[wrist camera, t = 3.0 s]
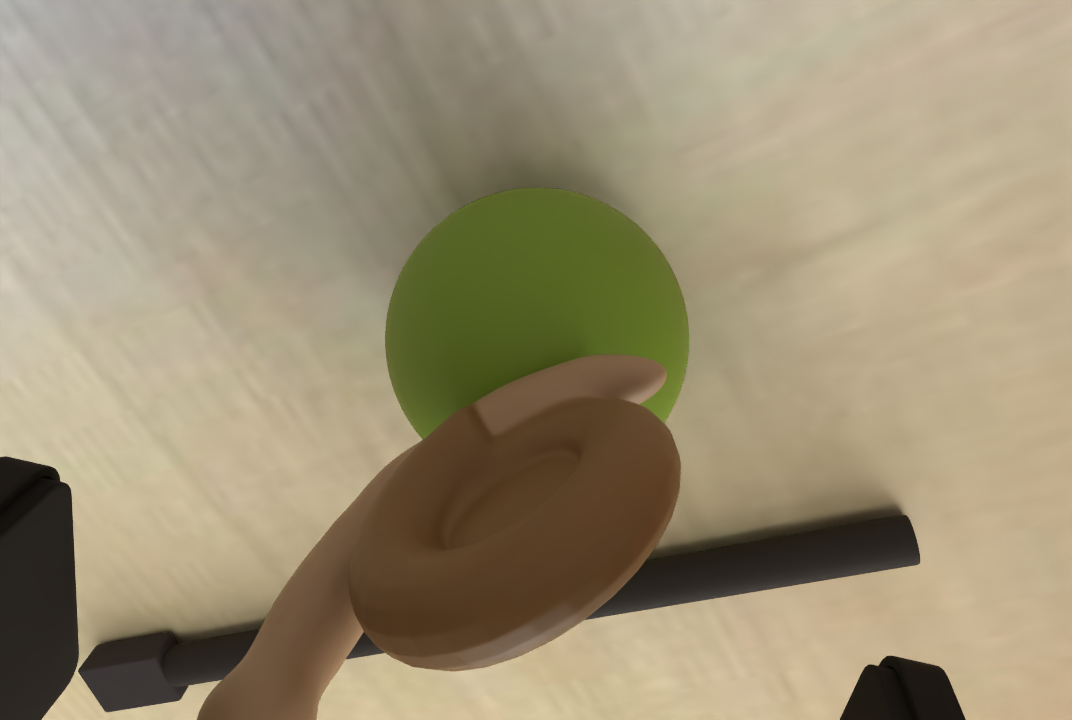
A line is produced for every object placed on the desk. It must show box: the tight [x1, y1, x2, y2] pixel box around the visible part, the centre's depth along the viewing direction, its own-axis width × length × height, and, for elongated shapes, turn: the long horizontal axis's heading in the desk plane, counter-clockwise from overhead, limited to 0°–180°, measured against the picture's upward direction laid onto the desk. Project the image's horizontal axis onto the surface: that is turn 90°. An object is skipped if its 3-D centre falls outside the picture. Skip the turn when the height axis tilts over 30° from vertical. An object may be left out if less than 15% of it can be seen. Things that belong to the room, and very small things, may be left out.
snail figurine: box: [197, 187, 689, 720], centre depth 13 cm, size 5×6×12 cm
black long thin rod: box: [78, 515, 920, 712], centre depth 22 cm, size 21×2×1 cm, turn 107°
